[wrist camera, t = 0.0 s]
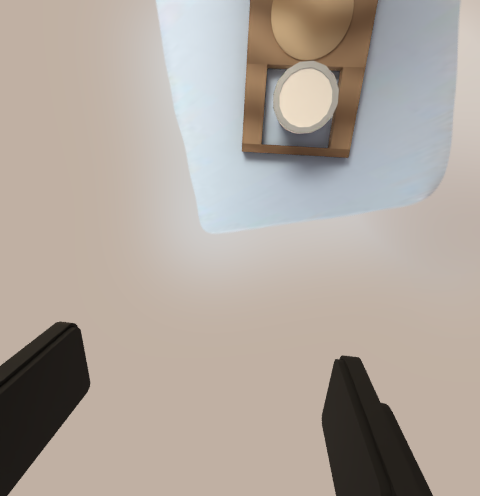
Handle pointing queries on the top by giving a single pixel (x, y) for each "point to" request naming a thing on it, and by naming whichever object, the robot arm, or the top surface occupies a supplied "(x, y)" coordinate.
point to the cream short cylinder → (305, 97)
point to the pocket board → (307, 49)
